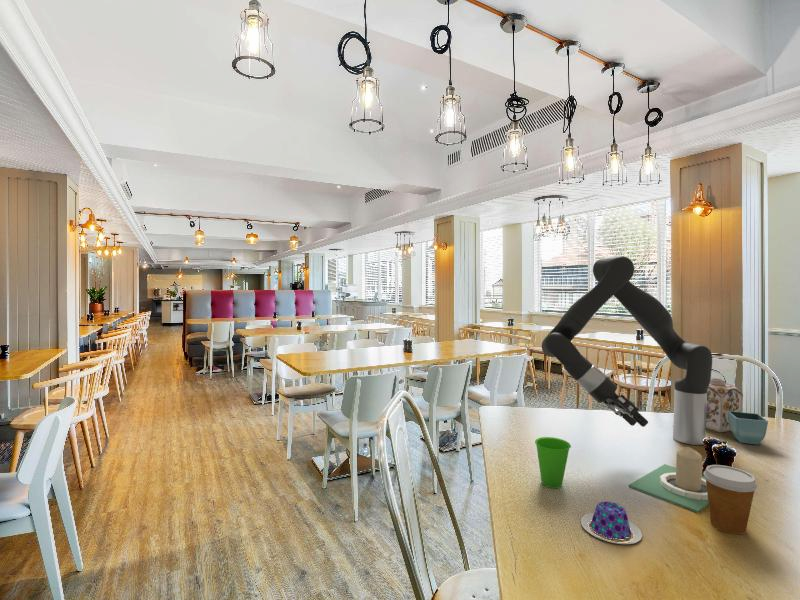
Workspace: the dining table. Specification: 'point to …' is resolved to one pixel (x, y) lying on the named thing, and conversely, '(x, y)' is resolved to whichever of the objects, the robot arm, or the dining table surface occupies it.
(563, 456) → the cup
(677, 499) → the putting green
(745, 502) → the disposable coffee cup
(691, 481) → the candle
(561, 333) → the robot arm
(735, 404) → the decorative jar
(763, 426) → the flower pot
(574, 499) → the dining table surface
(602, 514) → the pudding
